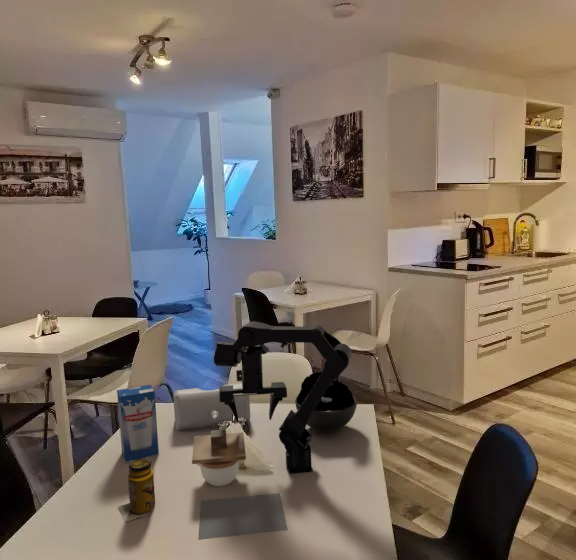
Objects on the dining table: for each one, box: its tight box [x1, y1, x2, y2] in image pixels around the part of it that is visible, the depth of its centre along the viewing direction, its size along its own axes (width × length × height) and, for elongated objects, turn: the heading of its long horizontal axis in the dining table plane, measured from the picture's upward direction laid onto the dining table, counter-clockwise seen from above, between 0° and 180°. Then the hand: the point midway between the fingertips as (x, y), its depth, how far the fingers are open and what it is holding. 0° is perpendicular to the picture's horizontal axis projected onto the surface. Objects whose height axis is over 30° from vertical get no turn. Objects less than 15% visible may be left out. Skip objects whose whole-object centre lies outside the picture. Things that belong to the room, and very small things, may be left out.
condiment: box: [117, 458, 156, 523], centre depth 126 cm, size 7×8×12 cm
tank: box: [172, 382, 251, 432], centre depth 173 cm, size 25×16×12 cm, turn 105°
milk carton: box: [116, 384, 160, 463], centre depth 153 cm, size 10×6×20 cm, turn 115°
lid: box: [191, 429, 247, 465], centre depth 136 cm, size 14×14×4 cm
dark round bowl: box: [294, 371, 358, 433], centre depth 167 cm, size 20×20×19 cm
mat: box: [197, 492, 288, 540], centre depth 123 cm, size 20×15×1 cm
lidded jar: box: [199, 460, 240, 487], centre depth 137 cm, size 11×11×9 cm
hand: (254, 420), depth 145 cm, fingers open, 9 cm apart
